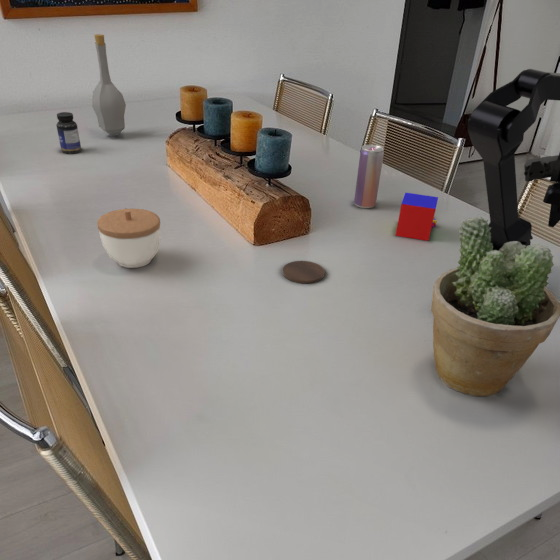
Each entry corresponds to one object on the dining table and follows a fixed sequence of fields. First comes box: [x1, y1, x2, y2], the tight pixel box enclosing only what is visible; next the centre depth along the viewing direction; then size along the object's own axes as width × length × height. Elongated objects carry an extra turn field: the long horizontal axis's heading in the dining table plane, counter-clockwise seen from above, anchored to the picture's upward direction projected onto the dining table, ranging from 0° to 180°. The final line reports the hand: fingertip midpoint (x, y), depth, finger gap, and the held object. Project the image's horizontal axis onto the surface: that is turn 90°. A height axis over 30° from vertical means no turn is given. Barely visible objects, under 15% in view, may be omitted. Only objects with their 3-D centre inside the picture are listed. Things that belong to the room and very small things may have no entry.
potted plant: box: [430, 216, 560, 397], centre depth 83 cm, size 18×19×25 cm
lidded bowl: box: [96, 208, 161, 269], centre depth 114 cm, size 13×13×11 cm
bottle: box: [91, 33, 127, 137], centre depth 178 cm, size 11×11×30 cm
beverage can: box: [353, 144, 385, 210], centre depth 143 cm, size 6×6×15 cm
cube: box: [395, 192, 439, 242], centre depth 133 cm, size 8×8×8 cm
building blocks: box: [432, 218, 438, 228], centre depth 141 cm, size 6×8×2 cm
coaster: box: [282, 260, 326, 284], centre depth 116 cm, size 9×9×1 cm
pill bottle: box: [55, 111, 82, 155], centre depth 170 cm, size 6×6×11 cm
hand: (550, 226), depth 111 cm, fingers closed
